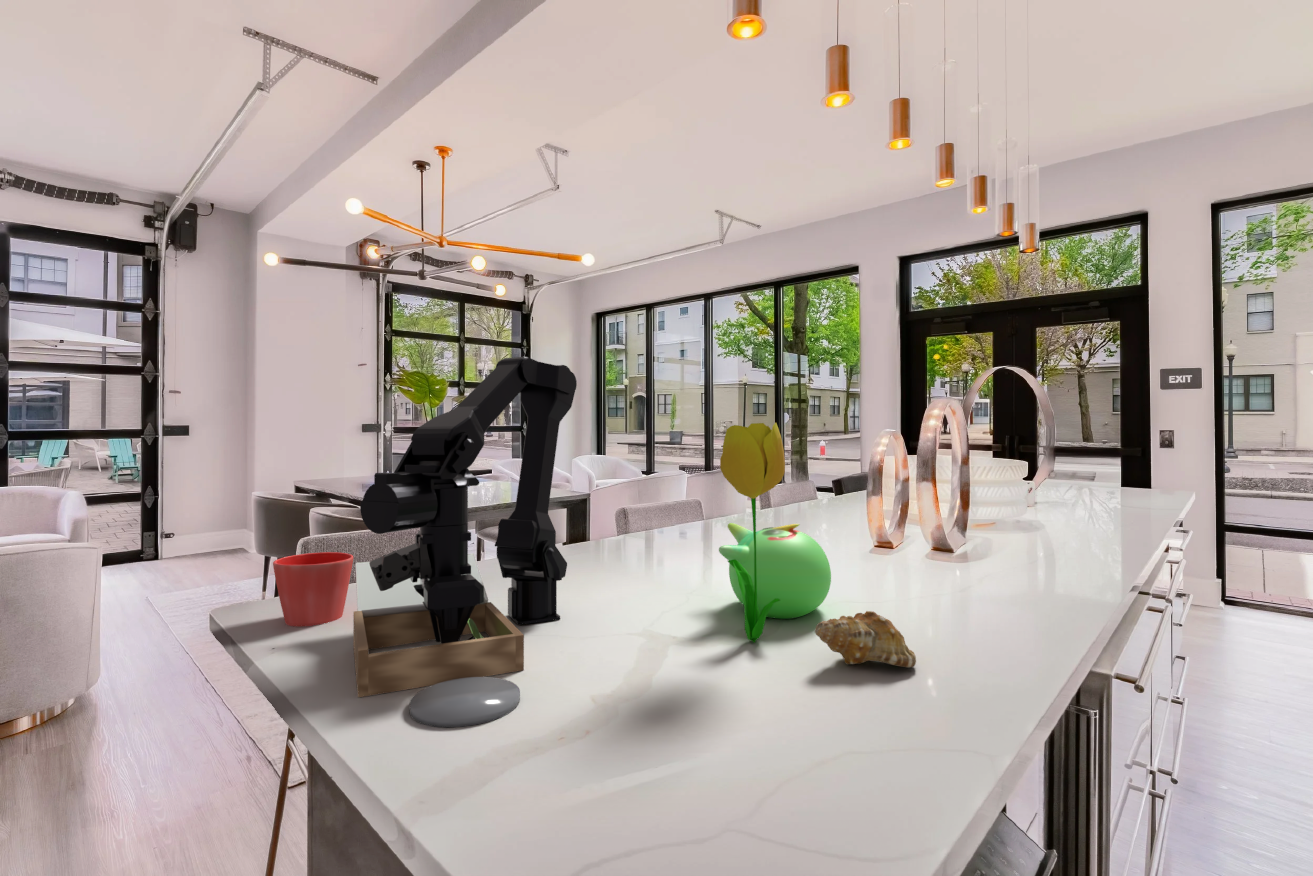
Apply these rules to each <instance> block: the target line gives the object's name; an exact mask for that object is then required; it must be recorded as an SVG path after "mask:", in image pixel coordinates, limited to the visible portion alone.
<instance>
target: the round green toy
mask: <svg viewBox="0 0 1313 876" xmlns="http://www.w3.org/2000/svg"><path fill="white" fill-rule="evenodd" d="M800 525H801V524H800V523H792V524H786V525H782V526H781V525H780V526H774V527H773V526H771V527H765V528H762V529H760V530H756V571H757V605H758V609H759V612H760V613H761V611H762V609H763V608H764V606H766V605H767V604H768V603H770V602H771V601H772V600H774V599H775V598H776V599H777V598H778V599H780V601H778V602H775V603H774V604H773V606H772V607H771V608H770V610H769V612H768V614H767V617H766V618H769V619H777V620H778V619H779V620H780V619H781V620H784V619H785V620H788V619H796V618H800V617H803V616H805V615H808V614H810V613H811V612H813V611H815V610H816V609H817V608H819V607H820V606H821V605H822V603H824V601H825V599H826V598H827V596H828V594H829V592H830V588H831V583H832V572H831V565H830V562H829V559H828V557H827V554H826V552H825V551H824V549H823V547H822V546H821V544H819V542H817V541H816V539H814V538H813V537H812V536H810V535H808V534H806V533H805V532H802V531H800V530H797V529H795V528H797V527H799V526H800ZM727 528H728V530H729V532H730V534H731V535H732V536H733V537H734V539H735V540H736V542H737V544H735V545H734V544H723V545H720V546H719V547H718V552H719V554H721V556H722V557H724V559H726V560H727V561H729V560H735V559H736V560H737V561H738V562H739V563H740V564H741V565H742V566H743V567H744V569H745V570H746V571H747V572H748V574H749V575H750V576H751V579H752V582H753V585H754V534H753V530H750V529H748V528H746V527H744V526H742V525H739V524H737V523H734V522H729V523H727ZM728 575H729V582H730V585H731V588H732V591H733V593H734V595H735V596H736V598H737V599H738V601H739V602H740V604H742V605H743V606H744V600H743V596H742V592H741V589H740V586H739V582H738V576H737V573H736V570H735V568H734V567H733V566H732V565H731V564H730V563H729V562H728Z"/></svg>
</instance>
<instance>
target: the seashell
mask: <svg viewBox="0 0 1313 876" xmlns="http://www.w3.org/2000/svg"><path fill="white" fill-rule="evenodd" d="M814 633H815V635H816V636H817V637H818V638H819V639H820V640H821V641H822V643H825V644H826V645H827V647H828V648H829V649H830V650H831V651H832V652H834V653H838V654H840V655H841V657H842V658H843V659H844V663H845V664H846V665H855V664H859V665H860V664H863V663H865V662H868V661H873V662H880V663H884V664H887V665H892V666H897V667H903V668H913V667H915V666H916V665H917V664H916V663H917V657H916V654H915V652H914V651H913V650H911V649H910V648H909V647H908V645H907V643H906V641H905V637H904V636H903V634H902V632H900V630H899V629H897V628H896V626H895V625H894V624H893V622H892V621H891V620H890V619H889V618H886V617H884V616H882V615H880V614H877V613H876V612H875V611H872V610H866V611H865V612H864V613H862V612H857V613H856V614H855V615H854V616H852V615H848V616H845V615H841V616H839V618H838V619H836V618H830V619H828V620H823V621H821V622H818V623H817V624H816V626H815V629H814Z"/></svg>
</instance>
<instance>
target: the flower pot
mask: <svg viewBox="0 0 1313 876" xmlns="http://www.w3.org/2000/svg"><path fill="white" fill-rule="evenodd" d="M353 562H354V556H353V554H350V553H346V552H340V551H337V552H335V551H334V552H333V551H325V552H323V551H322V552H309V553H308V552H307V553H301V554H293V555H289V556H284V557H280V558H277V559H276V560H273V562H272V567H273V572H274V578H275V582H276V587H277V592H278V593H277V594H278V597H279V602H280V606H281V610H282V615H283V620H284V622H285V625H287V626H289V627H311V626H312V627H314V626H320V625H324V623H325V624H329V623H332V622H334V621H337V620H339V619H340V618H342V617H343V615H344V612H345V606H346V601H347V600H346V599H347V595H348V590H349V586H350V585H349V584H350V581H351V580H350V579H351V574H352V568H353V564H354V563H353ZM328 622H329V623H328ZM313 625H314V626H313Z"/></svg>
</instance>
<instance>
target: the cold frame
mask: <svg viewBox="0 0 1313 876" xmlns="http://www.w3.org/2000/svg"><path fill="white" fill-rule="evenodd" d="M470 619H472V620H473V621H474V623H475V624H476V626H477V628H478V631H479V633H484V632H485V633H486V635H487V637H484V638H480V639H476V638H475V639H473V638H472V639H471V640H468V639H467V640H461V641H460V640H459V642H451V643H444V644H441V643H439V644H431V645H430V644H429V645H423V646H418V647H408V648H402V649H401V648H400V649H395V650H394V649H393V650H389V651H381V652H373V653H369V650H375V649H381V648H387V647H395V646H401V645H408V644H414V643H420V642H426V641H427V642H428V641H433V640H435V635H434V631H433V626H432V622H431V618H430V613H429V610H427V611H418V612H409V613H400V614H392V615H383V616H374V617H365V618H363V614H362V611H357V610H356V611H353V628H352V629H353V631H352V632H353V634H352V635H353V640H352V641H353V659H354V660H353V661H354V670H355V680H356V690H357V698H364V697H369V696H374V695H376V696H377V695H381V694H387V693H394V692H399V691H400V692H401V691H406V690H412V689H418V688H419V689H420V688H423V687H429V686H432V685H435V684H437V683H441V682H444V681H449V680H453V679H459V678H468V677H491V676H497V675H502V674H508V673H515V672H521V671H525V640H524V639H525V635H524V634H523V632H522V631H520V630H519V628H518V627H516V626H515V624H513V623H512V622H511V620H510V619H509V618H508V617H506V616H505V615H504V613H502V612H501V611H500V610H499V609H498V608H497V607H496V605H494V604H493V603H492V602H491V601H490V602H489V601H488V603H485V604H479V605H476V606H475V607H474V609H473V611H472V614H471V616H470ZM465 635H473V634H472V632H471V629H470V627H469V625H468V622H467V624H466V626H465V628H464V630H463V633H462V635H461V636H465Z"/></svg>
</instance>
